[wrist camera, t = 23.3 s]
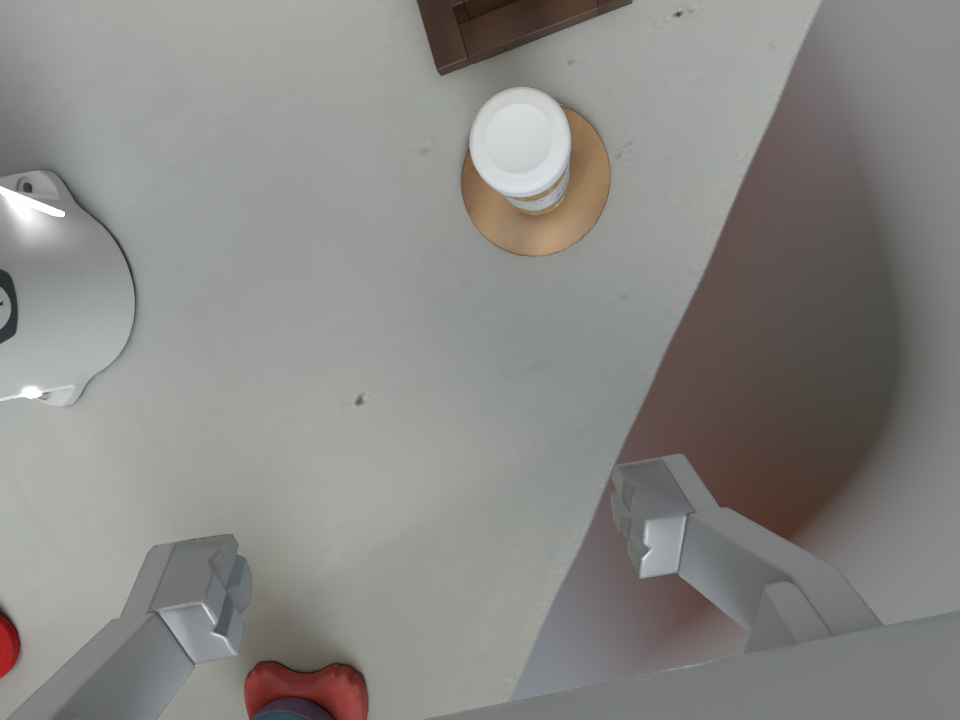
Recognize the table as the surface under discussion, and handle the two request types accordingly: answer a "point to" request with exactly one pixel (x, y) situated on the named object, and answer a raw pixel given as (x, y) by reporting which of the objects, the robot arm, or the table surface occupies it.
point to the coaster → (557, 225)
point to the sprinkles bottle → (523, 148)
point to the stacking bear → (305, 694)
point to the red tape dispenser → (7, 646)
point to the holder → (498, 25)
